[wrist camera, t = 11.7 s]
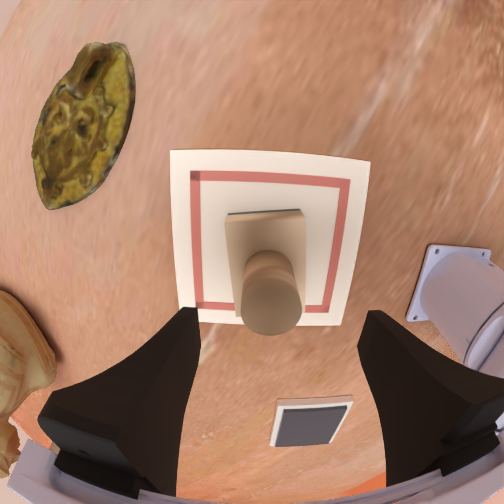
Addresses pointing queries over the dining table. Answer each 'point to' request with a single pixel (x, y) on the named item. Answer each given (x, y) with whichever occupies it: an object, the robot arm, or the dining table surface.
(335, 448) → the dining table surface
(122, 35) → the dining table surface
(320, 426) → the ink pad
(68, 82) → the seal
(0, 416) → the ceramic vessel
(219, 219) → the board
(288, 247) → the stamp
